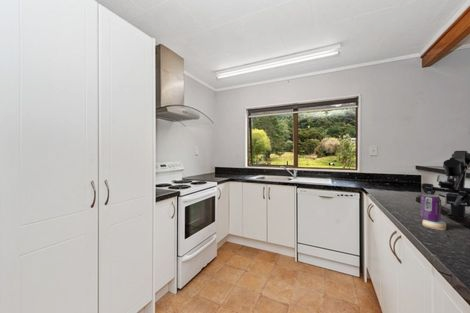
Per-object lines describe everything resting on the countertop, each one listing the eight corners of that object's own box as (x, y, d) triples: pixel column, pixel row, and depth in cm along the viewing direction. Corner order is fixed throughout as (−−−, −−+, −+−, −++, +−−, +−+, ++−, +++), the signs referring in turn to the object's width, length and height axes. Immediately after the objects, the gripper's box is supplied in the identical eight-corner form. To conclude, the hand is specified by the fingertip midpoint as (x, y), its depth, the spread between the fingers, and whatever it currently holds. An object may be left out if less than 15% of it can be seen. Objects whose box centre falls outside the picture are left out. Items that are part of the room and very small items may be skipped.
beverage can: (444, 222, 93) (445, 197, 93) (427, 221, 94) (427, 196, 94) (433, 218, 100) (433, 194, 100) (416, 217, 101) (417, 193, 101)
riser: (427, 223, 101) (427, 217, 101) (449, 228, 94) (449, 222, 94) (419, 225, 97) (419, 219, 97) (441, 231, 90) (441, 224, 90)
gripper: (423, 168, 109) (412, 190, 104) (475, 171, 92) (464, 197, 87) (430, 181, 112) (419, 203, 108) (481, 187, 95) (471, 212, 91)
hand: (441, 203), depth 98 cm, fingers open, 9 cm apart
